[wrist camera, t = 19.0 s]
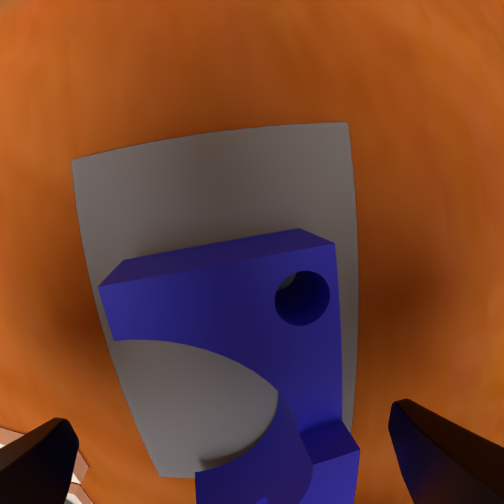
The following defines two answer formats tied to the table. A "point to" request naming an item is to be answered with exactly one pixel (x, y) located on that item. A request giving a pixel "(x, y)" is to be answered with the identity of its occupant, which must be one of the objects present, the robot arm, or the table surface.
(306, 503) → the cable clip
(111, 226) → the mat
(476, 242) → the table surface
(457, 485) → the robot arm
